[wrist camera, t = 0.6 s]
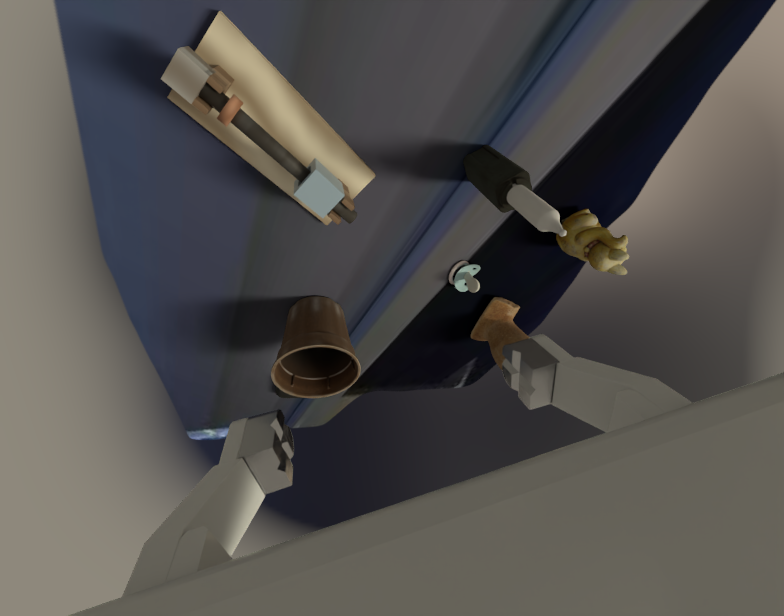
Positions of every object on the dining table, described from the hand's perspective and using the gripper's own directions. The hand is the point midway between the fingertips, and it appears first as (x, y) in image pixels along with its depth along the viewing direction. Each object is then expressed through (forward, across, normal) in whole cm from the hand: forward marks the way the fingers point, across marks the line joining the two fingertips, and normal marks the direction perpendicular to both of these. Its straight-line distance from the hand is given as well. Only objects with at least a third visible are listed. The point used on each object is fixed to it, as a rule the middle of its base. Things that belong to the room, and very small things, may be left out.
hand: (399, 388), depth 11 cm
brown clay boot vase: (+57, -36, +38) cm, 77 cm away
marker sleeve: (+42, +1, -3) cm, 42 cm away
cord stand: (+46, +4, -10) cm, 47 cm away
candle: (+47, -27, -1) cm, 54 cm away
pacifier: (+53, -25, +21) cm, 62 cm away
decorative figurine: (+50, -49, +16) cm, 72 cm away
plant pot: (+56, +9, +25) cm, 62 cm away
